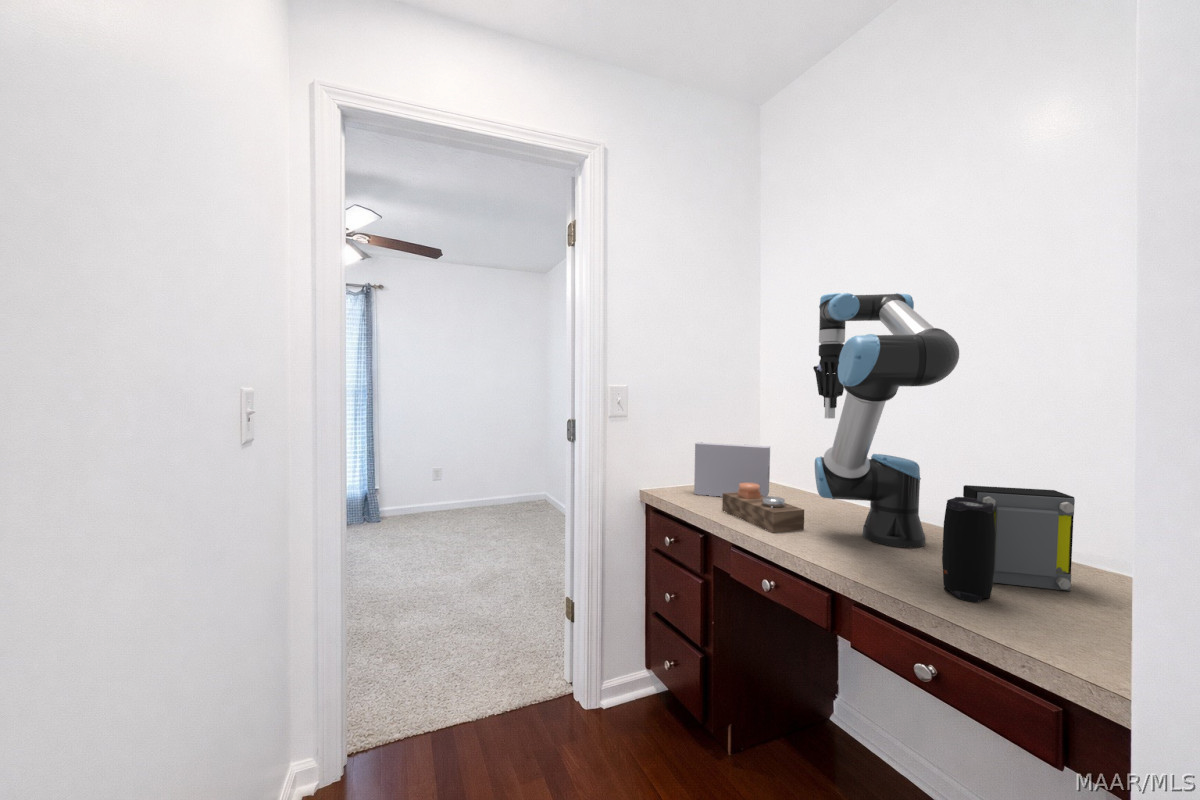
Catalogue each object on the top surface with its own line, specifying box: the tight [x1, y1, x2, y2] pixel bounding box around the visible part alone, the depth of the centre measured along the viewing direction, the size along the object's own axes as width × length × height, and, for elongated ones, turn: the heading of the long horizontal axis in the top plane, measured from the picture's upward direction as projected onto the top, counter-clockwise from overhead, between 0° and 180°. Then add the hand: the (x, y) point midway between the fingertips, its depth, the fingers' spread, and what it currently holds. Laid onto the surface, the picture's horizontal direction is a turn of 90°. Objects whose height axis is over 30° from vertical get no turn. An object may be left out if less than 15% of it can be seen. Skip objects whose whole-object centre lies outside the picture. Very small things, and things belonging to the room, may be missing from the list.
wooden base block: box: [721, 492, 805, 534], centre depth 157 cm, size 26×11×6 cm, turn 19°
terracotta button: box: [738, 483, 760, 499], centre depth 162 cm, size 6×6×6 cm
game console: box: [693, 441, 771, 498], centre depth 188 cm, size 6×27×20 cm, turn 67°
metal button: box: [762, 495, 786, 508], centre depth 151 cm, size 6×6×6 cm
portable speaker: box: [941, 496, 996, 603], centre depth 102 cm, size 9×9×20 cm
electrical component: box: [962, 484, 1076, 592], centre depth 109 cm, size 18×10×20 cm, turn 73°
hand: (829, 418), depth 157 cm, fingers closed
